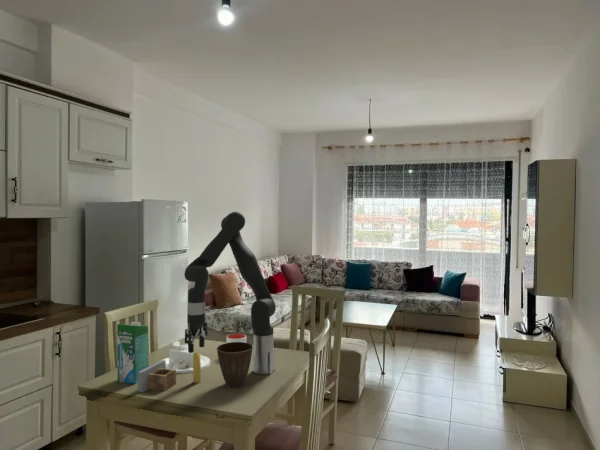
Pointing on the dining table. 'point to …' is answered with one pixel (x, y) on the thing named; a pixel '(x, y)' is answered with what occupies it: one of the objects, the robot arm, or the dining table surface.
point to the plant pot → (234, 362)
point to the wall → (144, 374)
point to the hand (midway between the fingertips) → (196, 349)
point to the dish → (183, 359)
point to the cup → (236, 338)
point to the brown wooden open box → (162, 379)
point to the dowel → (196, 368)
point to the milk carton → (131, 351)
